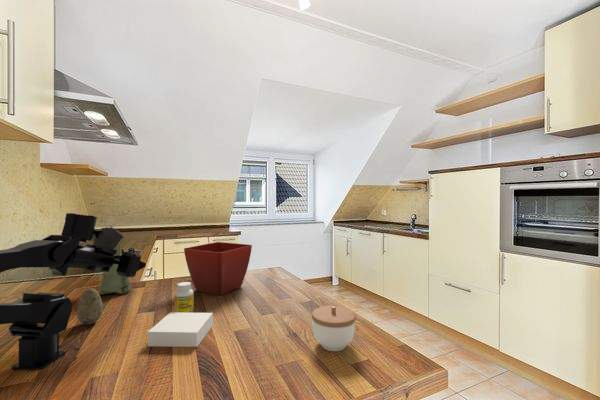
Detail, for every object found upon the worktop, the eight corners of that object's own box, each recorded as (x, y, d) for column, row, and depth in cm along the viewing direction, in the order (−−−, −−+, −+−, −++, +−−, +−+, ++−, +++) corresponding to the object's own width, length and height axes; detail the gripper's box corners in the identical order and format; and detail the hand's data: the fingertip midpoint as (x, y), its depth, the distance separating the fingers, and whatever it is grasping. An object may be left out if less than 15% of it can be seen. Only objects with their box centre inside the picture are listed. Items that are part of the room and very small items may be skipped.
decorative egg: (72, 329, 79) (72, 292, 79) (82, 320, 84) (82, 286, 84) (97, 327, 80) (98, 290, 80) (105, 318, 86) (106, 284, 86)
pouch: (116, 298, 103) (116, 228, 103) (87, 296, 105) (87, 227, 105) (138, 288, 114) (138, 225, 114) (111, 287, 116) (112, 224, 116)
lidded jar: (320, 359, 65) (320, 317, 65) (306, 337, 75) (306, 301, 75) (363, 353, 68) (363, 313, 68) (343, 332, 78) (344, 297, 78)
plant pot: (182, 291, 111) (182, 247, 111) (217, 279, 128) (218, 241, 128) (219, 300, 102) (220, 252, 102) (252, 286, 119) (253, 245, 119)
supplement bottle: (191, 310, 93) (191, 280, 93) (195, 316, 88) (195, 284, 88) (173, 313, 90) (173, 282, 90) (176, 319, 85) (176, 287, 85)
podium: (197, 346, 70) (197, 332, 70) (147, 346, 70) (147, 331, 70) (212, 325, 82) (212, 312, 82) (170, 324, 82) (170, 312, 82)
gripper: (122, 231, 73) (165, 240, 87) (70, 221, 78) (119, 232, 93) (107, 276, 70) (154, 278, 84) (54, 263, 76) (107, 267, 90)
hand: (133, 262), depth 88 cm, fingers open, 9 cm apart
